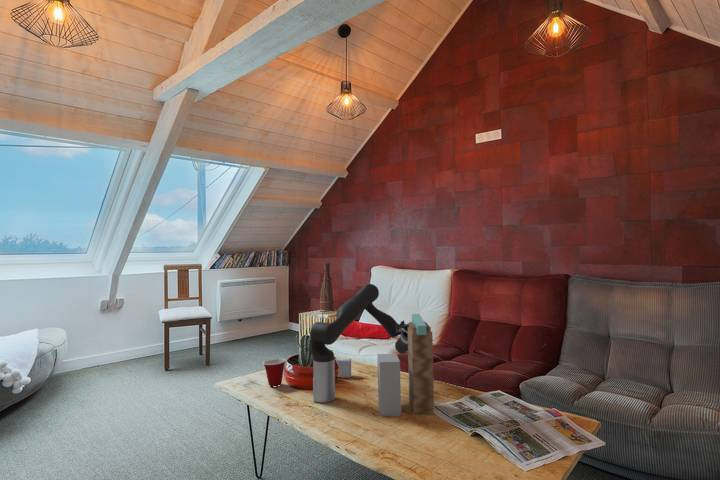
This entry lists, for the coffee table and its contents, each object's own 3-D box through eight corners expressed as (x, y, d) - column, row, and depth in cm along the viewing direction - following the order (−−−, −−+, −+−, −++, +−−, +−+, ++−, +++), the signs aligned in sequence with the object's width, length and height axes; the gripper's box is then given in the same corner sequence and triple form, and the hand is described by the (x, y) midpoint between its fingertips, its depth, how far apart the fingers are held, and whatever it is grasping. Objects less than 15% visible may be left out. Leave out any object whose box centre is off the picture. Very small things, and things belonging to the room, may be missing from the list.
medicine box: (351, 375, 214) (351, 358, 214) (350, 378, 210) (350, 360, 210) (336, 375, 215) (336, 358, 215) (335, 377, 211) (334, 360, 211)
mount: (413, 415, 163) (411, 328, 164) (409, 403, 175) (407, 322, 176) (434, 414, 164) (432, 327, 164) (428, 402, 176) (426, 321, 176)
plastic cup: (275, 380, 209) (274, 356, 209) (290, 384, 203) (290, 359, 203) (258, 386, 200) (257, 361, 200) (274, 390, 194) (273, 364, 194)
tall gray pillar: (380, 416, 163) (379, 362, 163) (378, 404, 175) (377, 354, 175) (401, 415, 163) (399, 361, 163) (397, 403, 175) (396, 353, 175)
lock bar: (417, 335, 160) (417, 325, 160) (411, 322, 186) (411, 314, 186) (426, 334, 160) (426, 325, 160) (419, 321, 186) (419, 314, 186)
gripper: (393, 326, 201) (396, 314, 187) (422, 325, 202) (428, 313, 188) (394, 342, 197) (397, 330, 184) (424, 341, 198) (430, 330, 184)
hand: (413, 322), depth 186 cm, fingers open, 8 cm apart
